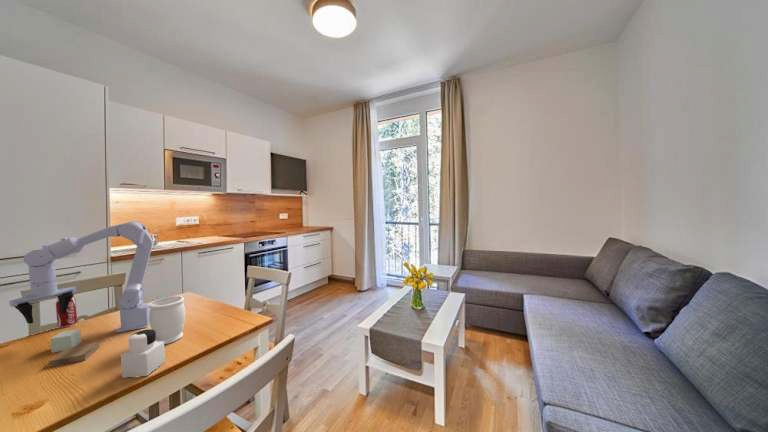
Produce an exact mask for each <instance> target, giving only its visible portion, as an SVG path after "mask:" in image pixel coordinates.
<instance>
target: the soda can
mask: <svg viewBox="0 0 768 432" xmlns="http://www.w3.org/2000/svg"><path fill="white" fill-rule="evenodd" d="M76 300H77V299H76V298H75V296H74V295H73V297H72V299H71V300H70V302H69V304H68V307H67V310H66V314H61V313H60V304H59V300H58V298H57V299H56V302H55V309H56V310H55V313H56V321H57V327H58V328H59V329H64V328H63V327H66V328H69V327H68V326H70V327H72V326H75V325H77V324H78V315H77V303H76Z"/></svg>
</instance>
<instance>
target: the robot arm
mask: <svg viewBox="0 0 768 432" xmlns="http://www.w3.org/2000/svg"><path fill="white" fill-rule="evenodd" d="M108 237H109V238H112V237H114V238H119V237H122V238H124V239H125V240H129V241H131V242H132V243H133V244H134V245H135V246H136V249H135V253H134V256H133V259H132V263H131V266H130V267H131V268H130V271H129V275H128V279H127V283H126V285H125V288H124V290H123V293H122V294H121V296H120V297H119V298H118V300H117V304H118V306H119V315H120V316H119V319H120V328H119V327H118V329H117V330H116V331H115V333H122V332H128V331H133V330H139V329H145V328H148V326H149V325H150V321H149V316H150V310H151V309H150V308H149V304H150V303H151V302H150V303H149V302H148V303H145V302H144V301H143V299H142V298H143V297H144V295H145V294H144V290H143V287H144V286H143V285H144V279H145V275H146V272H147V268H148V264H149V260H150V256H151V253H152V249H153V244H154V240H153V238H152V236H151V235H150V233H149V231H148V228H147V227H146V226H145V225H144V224H142V223H141V222H139V221H135V220H134V221H133V220H131V221H128V222H125V223H120V224H117V225H116V224H115V225H111V226H108V227H105V228H102V229H100V230H97V231H95V232H93V233H90V234H87V235H85V236H84V235H83V236H82V237H79V238H76V237H68V238H67V237H64V238H60V241H57V242H53V243H51V244H45V245H42V248H36V249H32V250H31V251H29V252H27V253H26V254H25V255H24V256H23V262H24V263H25V264H26V265H27V266H28V278H29V287H30V288H29V289H30V295H27V296H23V297H19V298H15V299H11V300H9V301H8V302H9V303H8V304H9V307H10V308H15V309H16V310H17V311H18V312H20V314H21V315H22V316H23V318H24V320H25V321H26V323H27V324H29V325H30V324H33V323H34V318H33V305H32V304H31V303H33V302H36V301H37V302H38V301H42V300H46V299H49V298H53V297H57V299H58V300H59V304H60V313H61V314H66V310H67V307H68V304H69V302H70V300H71V299H72V297H73V296H74V293H76V292H77V287H76V286H70V287H63V288H59V289H58V282H57V281H58V280H57V274H56V271H57V270H56V266H55V261H56V260H59V259H62V258H65V257H67V256H70V255H73V254H75V253H78V252H80V251H82V250H83V248H84V247H85V246H86V245H89V244H91V243H94V242H97V241H100V240H102V239H106V238H108Z"/></svg>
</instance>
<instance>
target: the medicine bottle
mask: <svg viewBox="0 0 768 432" xmlns="http://www.w3.org/2000/svg"><path fill="white" fill-rule="evenodd" d="M128 348H129V349H128V350H127V351H125V352H124V353H122V354H121V355H120V364H121V365H120V366H121V377H122V379H127V377H133V378H137V377H136V376H147V375H149V374H150V373H151V372H152V371H153V372H155V371H156V370H157V369H158V368H160V367H161V366H162V365H163V364H164V363H166V354H165V353H166V350H165V344H164V342H163V341H161V342H156V331H155V330H152V329H151V328H149V329H144V330H139V331H136V332H134V333H133V334H131V335H130V336H129V337H128ZM159 366H160V367H159ZM155 369H156V370H155ZM154 370H155V371H154ZM153 372H152V373H153ZM152 373H151V374H152ZM151 374H150V375H151ZM150 375H149V376H150ZM147 377H148V376H147Z"/></svg>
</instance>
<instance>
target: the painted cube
mask: <svg viewBox="0 0 768 432" xmlns="http://www.w3.org/2000/svg"><path fill="white" fill-rule="evenodd" d="M80 343H82V336H81V328H80V329H79V328H77V329H72V330H66V331H60V332H59V333H57V334H56V335H54V336H53V337H50V348H51V349H50V351H51V353H55V352H62V351H63V350H65V349H66V348H70V347H75V346H79V344H80Z"/></svg>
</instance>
